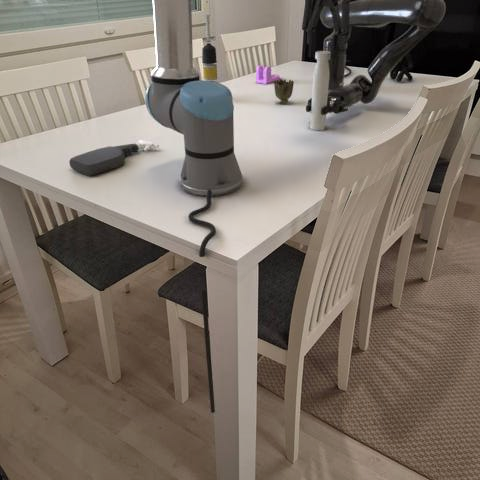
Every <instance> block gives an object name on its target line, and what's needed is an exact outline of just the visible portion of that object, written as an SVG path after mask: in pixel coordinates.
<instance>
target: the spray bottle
mask: <svg viewBox="0 0 480 480" xmlns="http://www.w3.org/2000/svg"><path fill="white" fill-rule="evenodd" d="M159 148H160V145H159V144H158V143H155V142H151V141H148V140H144V139H139V140H138V141H137V142H135V143H129V144H128V143H126V144H122V145H113V146H105V147H100V148H97V149H94V150H90V151H87V152H83V153H81V154H78V155H74V156H73V157H70V159H69V161H68V162H69V167H70V168H71V169H72V170H74V171H75V172H78V173H81V174H83V175H85V176H89V177H90V176H91V177H92V176H95V175H99V174H102V173H105V172H107V171H110V170H113V169H116V168H118V167H120V166H122V165H123V164H124V163H125V158H126V156H127V155H131V154H133V153H138V151H140V150H143V151H144V152H146V151H147V150H149V149H159Z"/></svg>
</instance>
